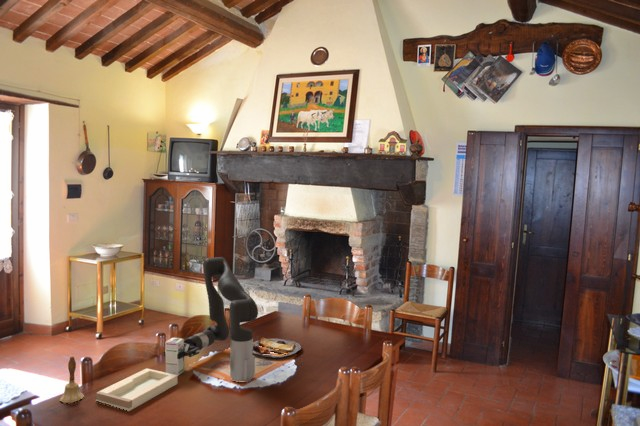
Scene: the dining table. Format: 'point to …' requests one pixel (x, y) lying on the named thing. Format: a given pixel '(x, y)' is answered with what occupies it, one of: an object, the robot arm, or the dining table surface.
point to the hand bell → (71, 385)
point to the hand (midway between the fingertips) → (171, 355)
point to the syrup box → (174, 356)
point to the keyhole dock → (136, 389)
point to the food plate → (275, 347)
